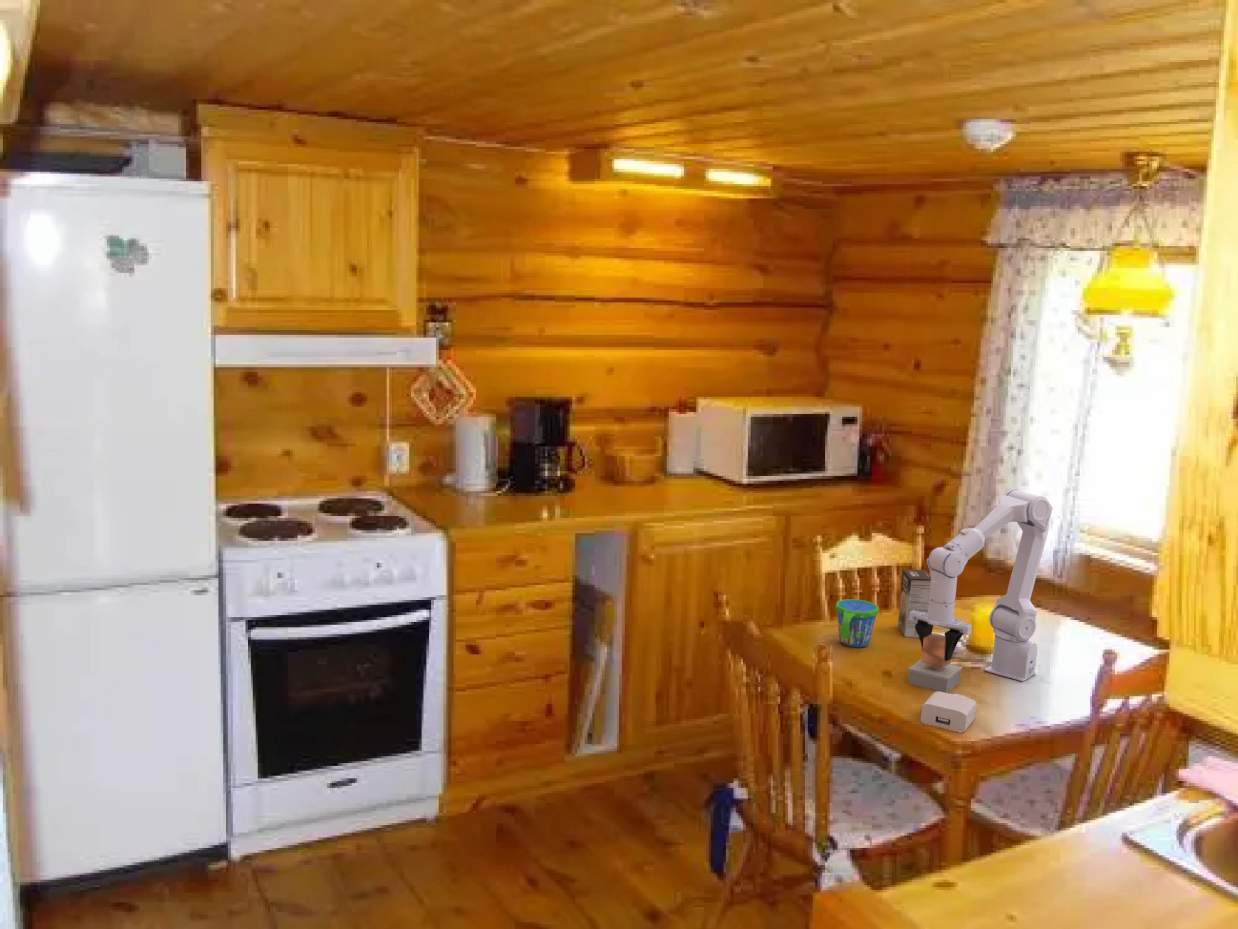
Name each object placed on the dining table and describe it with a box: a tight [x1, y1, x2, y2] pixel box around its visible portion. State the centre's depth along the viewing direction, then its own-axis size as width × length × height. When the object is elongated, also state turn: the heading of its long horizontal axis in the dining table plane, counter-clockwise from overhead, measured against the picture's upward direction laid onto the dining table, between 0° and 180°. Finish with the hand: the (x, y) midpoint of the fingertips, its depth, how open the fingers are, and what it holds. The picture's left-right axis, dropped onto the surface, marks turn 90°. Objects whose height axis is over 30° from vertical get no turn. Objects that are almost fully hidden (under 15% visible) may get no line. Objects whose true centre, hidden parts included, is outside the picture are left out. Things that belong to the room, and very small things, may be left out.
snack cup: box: [834, 598, 880, 648], centre depth 283 cm, size 16×10×10 cm
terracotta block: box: [920, 632, 952, 668], centre depth 257 cm, size 5×5×6 cm
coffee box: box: [897, 568, 931, 638], centre depth 293 cm, size 9×6×16 cm
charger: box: [920, 691, 977, 733], centre depth 239 cm, size 5×9×15 cm
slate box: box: [907, 658, 963, 693], centre depth 258 cm, size 9×9×4 cm
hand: (936, 656), depth 257 cm, fingers closed on terracotta block, 5 cm apart
